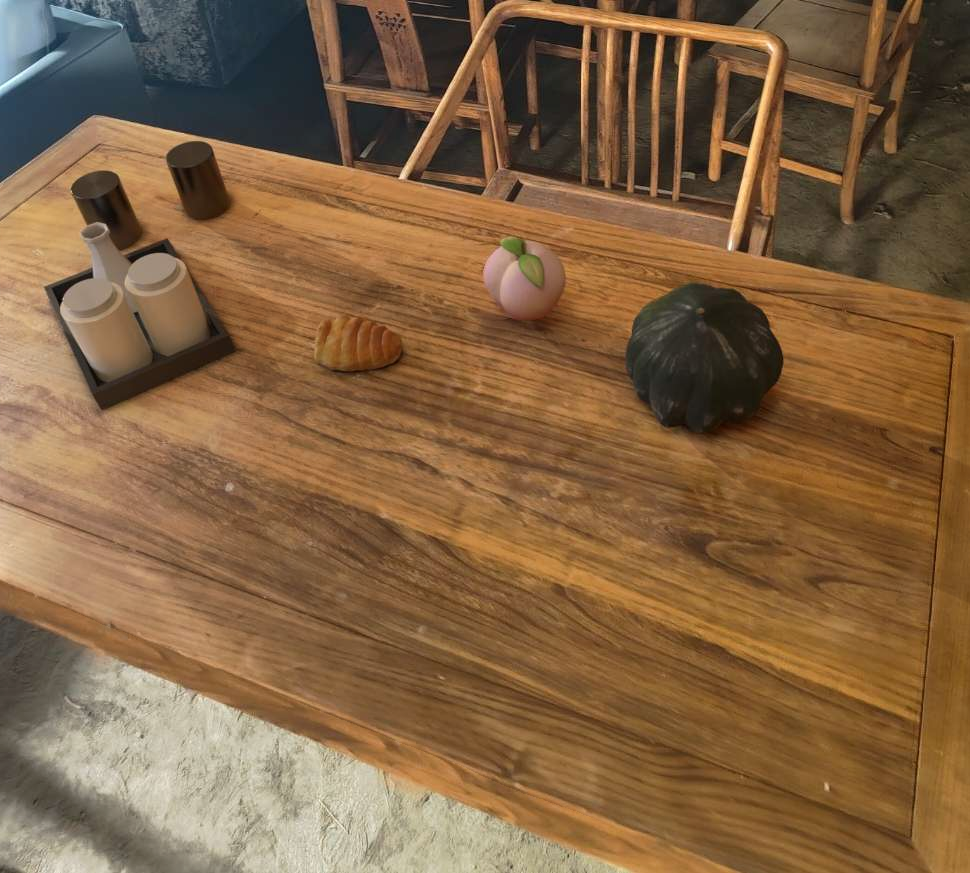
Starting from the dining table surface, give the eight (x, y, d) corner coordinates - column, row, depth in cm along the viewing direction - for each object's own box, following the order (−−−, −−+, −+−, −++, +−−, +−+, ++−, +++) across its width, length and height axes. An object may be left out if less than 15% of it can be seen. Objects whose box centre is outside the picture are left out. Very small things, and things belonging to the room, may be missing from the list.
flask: (118, 327, 108) (83, 259, 100) (84, 303, 111) (48, 235, 104) (168, 294, 111) (139, 226, 104) (134, 271, 115) (103, 203, 107)
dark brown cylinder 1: (90, 233, 122) (64, 181, 116) (134, 216, 123) (111, 164, 117) (103, 257, 118) (77, 204, 112) (148, 239, 120) (125, 186, 114)
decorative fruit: (582, 319, 104) (583, 247, 96) (523, 352, 101) (519, 280, 94) (532, 277, 109) (529, 206, 102) (475, 307, 106) (467, 236, 99)
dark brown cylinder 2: (179, 204, 125) (159, 151, 118) (221, 188, 126) (203, 135, 120) (194, 225, 121) (174, 173, 115) (237, 209, 123) (219, 156, 117)
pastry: (408, 334, 104) (403, 309, 101) (396, 378, 100) (390, 353, 97) (328, 330, 106) (321, 305, 103) (312, 373, 101) (304, 348, 99)
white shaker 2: (146, 332, 107) (113, 264, 100) (200, 309, 109) (171, 241, 101) (164, 365, 103) (131, 297, 96) (219, 341, 105) (191, 272, 98)
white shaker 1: (87, 357, 105) (49, 289, 98) (142, 333, 107) (109, 265, 99) (103, 392, 101) (64, 324, 94) (160, 367, 103) (127, 298, 96)
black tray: (52, 303, 113) (43, 286, 111) (174, 254, 117) (167, 237, 115) (101, 410, 100) (92, 394, 98) (235, 351, 105) (229, 334, 103)
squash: (741, 283, 97) (671, 228, 86) (834, 375, 89) (769, 328, 78) (648, 379, 102) (570, 339, 91) (727, 476, 94) (651, 444, 83)
